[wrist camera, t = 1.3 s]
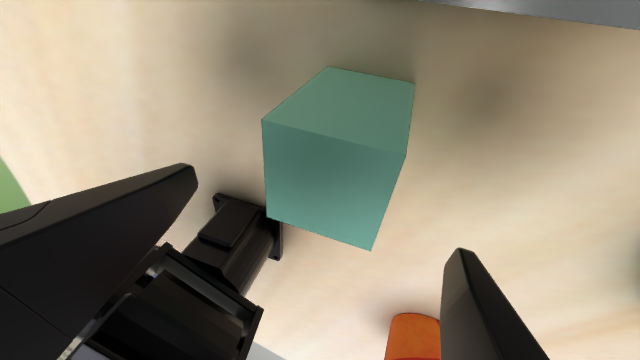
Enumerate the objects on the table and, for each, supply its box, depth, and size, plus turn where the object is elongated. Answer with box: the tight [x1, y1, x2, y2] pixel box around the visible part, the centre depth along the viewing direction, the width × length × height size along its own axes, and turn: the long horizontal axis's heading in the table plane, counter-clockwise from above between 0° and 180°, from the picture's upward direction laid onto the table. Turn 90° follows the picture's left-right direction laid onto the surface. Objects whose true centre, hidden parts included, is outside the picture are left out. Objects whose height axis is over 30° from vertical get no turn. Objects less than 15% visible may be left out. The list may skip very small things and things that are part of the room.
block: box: [261, 66, 415, 251], centre depth 12 cm, size 4×4×7 cm
